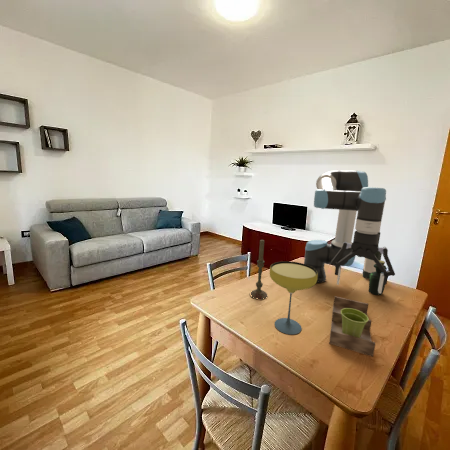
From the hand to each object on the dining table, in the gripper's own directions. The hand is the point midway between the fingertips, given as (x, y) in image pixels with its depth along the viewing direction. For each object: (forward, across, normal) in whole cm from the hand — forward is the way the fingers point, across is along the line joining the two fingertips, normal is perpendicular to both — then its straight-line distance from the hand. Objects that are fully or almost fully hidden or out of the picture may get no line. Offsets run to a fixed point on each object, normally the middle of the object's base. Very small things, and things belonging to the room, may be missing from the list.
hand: (357, 287), depth 89 cm
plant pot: (+20, 0, 0) cm, 20 cm away
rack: (+21, 0, +7) cm, 22 cm away
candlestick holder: (+21, -42, +14) cm, 49 cm away
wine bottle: (+22, +12, +72) cm, 76 cm away
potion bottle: (+21, +13, +49) cm, 55 cm away
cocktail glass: (+21, -23, -5) cm, 32 cm away
